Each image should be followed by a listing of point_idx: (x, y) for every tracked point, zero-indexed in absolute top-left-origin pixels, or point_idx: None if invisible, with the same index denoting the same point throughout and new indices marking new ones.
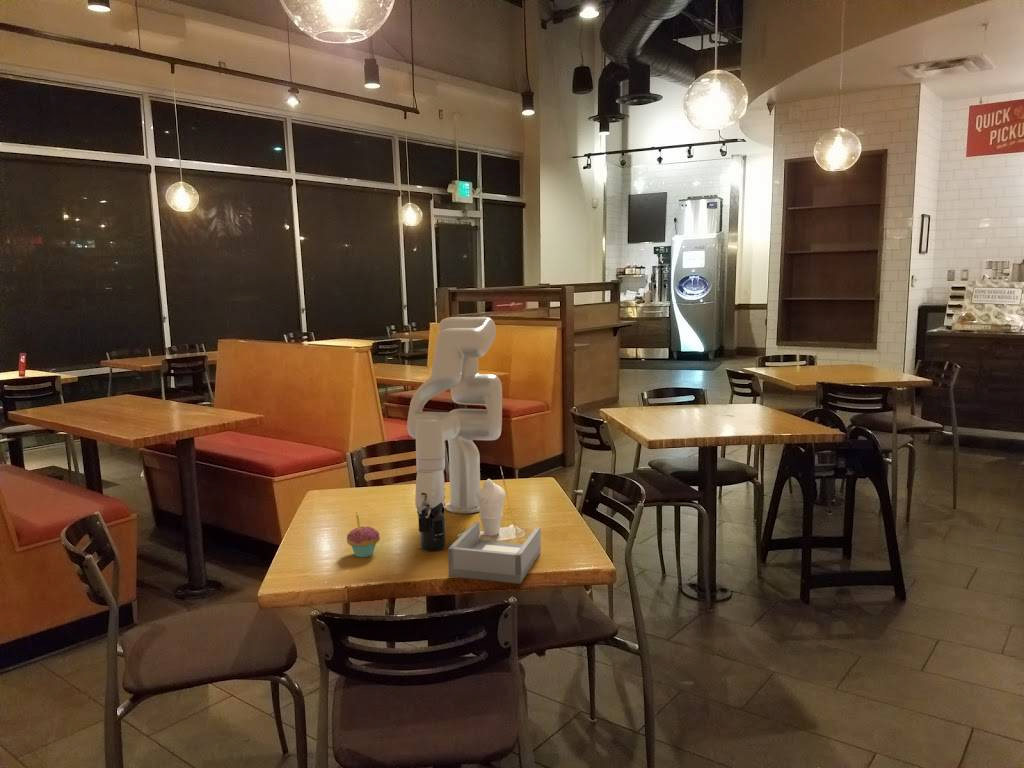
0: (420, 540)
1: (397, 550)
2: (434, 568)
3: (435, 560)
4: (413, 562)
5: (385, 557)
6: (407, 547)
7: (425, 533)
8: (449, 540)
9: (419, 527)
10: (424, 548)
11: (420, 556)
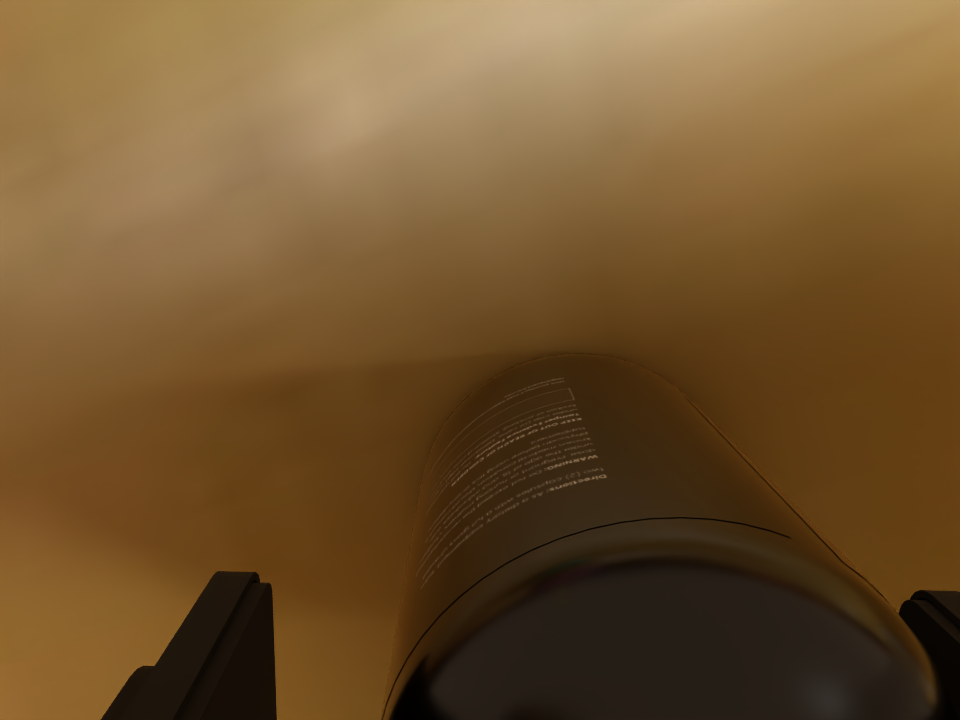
0: (499, 398)
1: (377, 93)
2: (18, 682)
3: None
4: (83, 434)
5: (108, 31)
6: (506, 186)
7: (408, 571)
8: None
9: (190, 627)
10: (432, 447)
11: (269, 447)
